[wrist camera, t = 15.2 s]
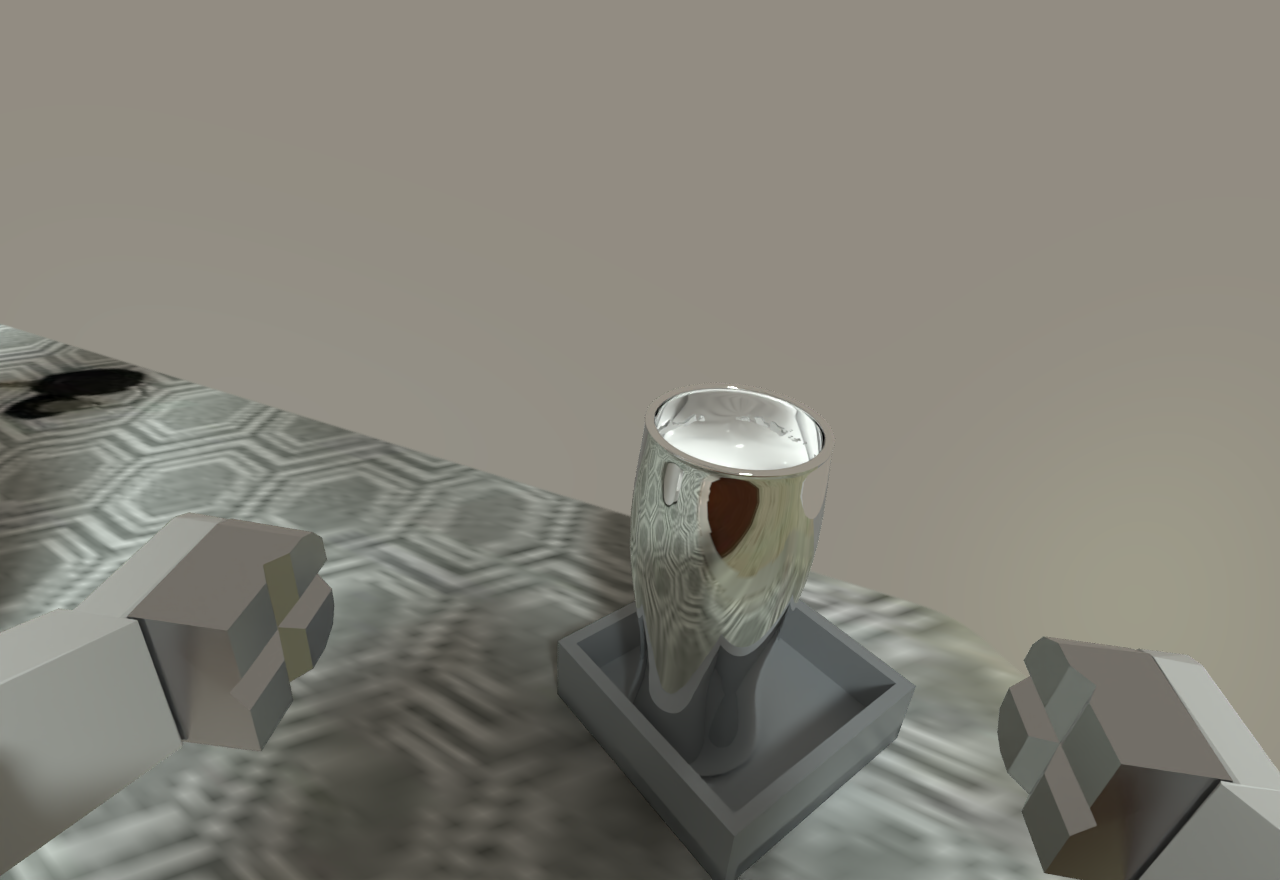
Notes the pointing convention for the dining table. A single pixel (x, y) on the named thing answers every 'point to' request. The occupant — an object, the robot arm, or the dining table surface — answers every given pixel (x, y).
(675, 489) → the silver tall rounded piece
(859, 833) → the dining table surface
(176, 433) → the dining table surface
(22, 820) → the robot arm
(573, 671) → the box
